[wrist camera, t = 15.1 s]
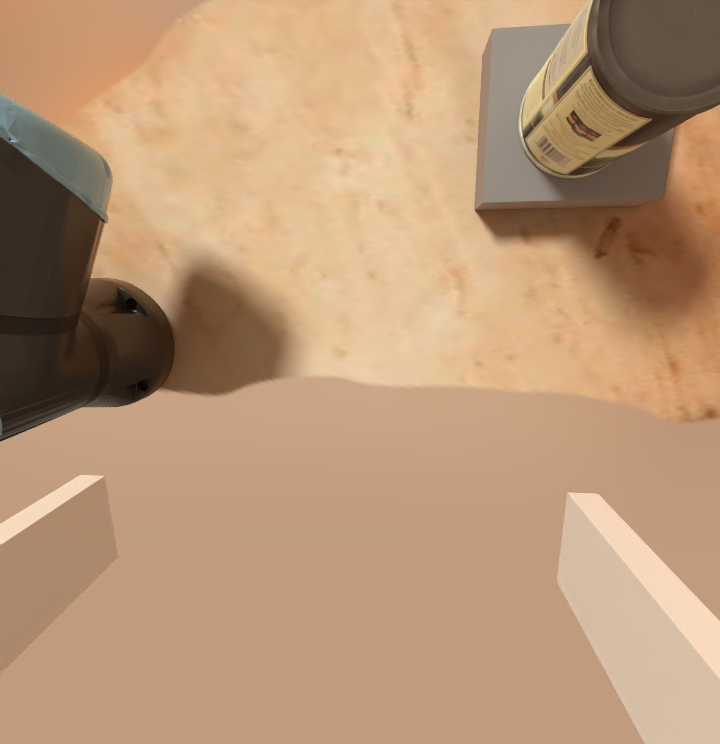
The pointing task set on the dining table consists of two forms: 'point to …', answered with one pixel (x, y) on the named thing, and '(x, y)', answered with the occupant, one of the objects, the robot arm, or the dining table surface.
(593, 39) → the coffee can
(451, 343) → the dining table surface
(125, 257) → the dining table surface
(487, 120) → the riser
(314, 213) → the dining table surface
